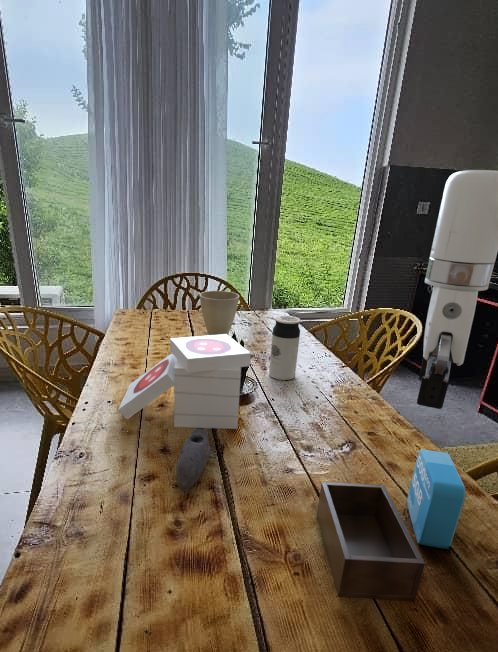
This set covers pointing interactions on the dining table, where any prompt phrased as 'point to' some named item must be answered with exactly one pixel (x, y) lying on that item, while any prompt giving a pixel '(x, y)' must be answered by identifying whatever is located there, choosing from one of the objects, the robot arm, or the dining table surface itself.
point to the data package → (435, 499)
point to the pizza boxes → (194, 382)
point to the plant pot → (218, 310)
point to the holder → (368, 543)
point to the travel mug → (284, 347)
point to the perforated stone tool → (192, 459)
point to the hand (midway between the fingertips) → (429, 392)
